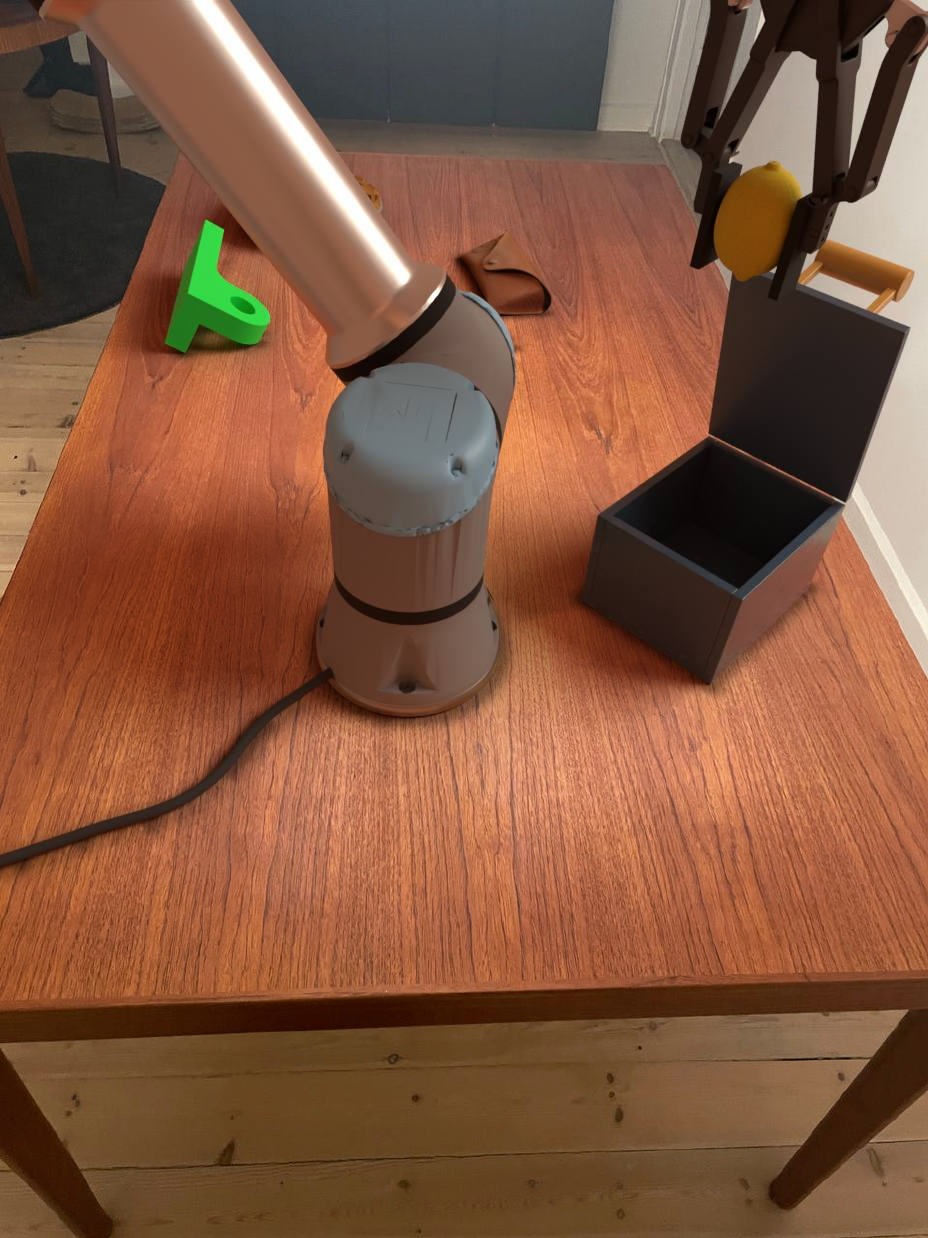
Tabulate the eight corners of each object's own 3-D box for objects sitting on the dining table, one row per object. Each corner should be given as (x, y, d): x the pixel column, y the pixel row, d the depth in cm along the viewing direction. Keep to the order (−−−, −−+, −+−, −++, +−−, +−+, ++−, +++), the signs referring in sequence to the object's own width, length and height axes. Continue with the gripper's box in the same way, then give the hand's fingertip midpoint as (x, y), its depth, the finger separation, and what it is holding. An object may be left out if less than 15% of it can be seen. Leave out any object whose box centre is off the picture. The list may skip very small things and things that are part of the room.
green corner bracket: (243, 381, 110) (268, 334, 106) (164, 344, 106) (187, 293, 102) (254, 301, 124) (277, 257, 120) (184, 265, 120) (206, 218, 116)
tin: (710, 685, 75) (742, 600, 68) (580, 600, 82) (597, 514, 75) (808, 588, 84) (846, 504, 77) (684, 518, 91) (709, 435, 83)
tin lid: (905, 333, 62) (967, 268, 65) (732, 264, 69) (796, 207, 72) (845, 503, 77) (898, 443, 80) (707, 433, 83) (761, 380, 86)
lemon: (715, 256, 67) (746, 139, 61) (789, 276, 65) (827, 158, 59) (691, 284, 63) (720, 163, 58) (768, 306, 62) (806, 184, 56)
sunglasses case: (454, 253, 129) (480, 210, 125) (493, 274, 133) (519, 234, 129) (490, 314, 117) (519, 269, 113) (531, 336, 121) (561, 293, 117)
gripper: (1069, -128, 46) (887, 307, 62) (744, -176, 54) (660, 221, 70) (1019, -118, 41) (839, 345, 58) (676, -172, 49) (604, 248, 66)
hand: (742, 276), depth 64 cm, fingers closed on lemon, 5 cm apart
